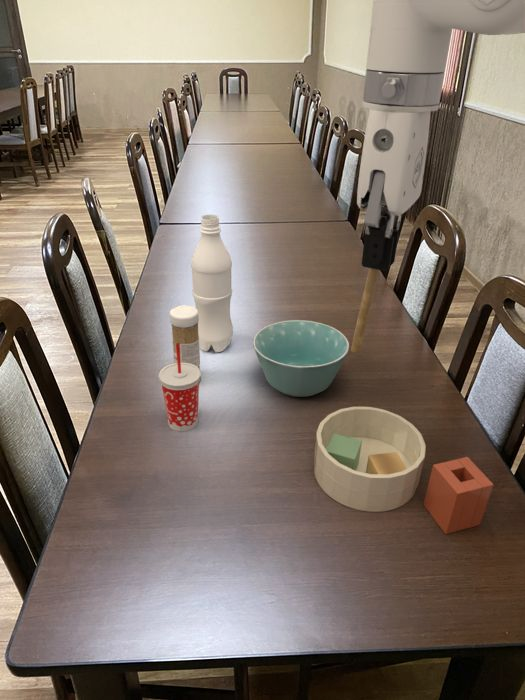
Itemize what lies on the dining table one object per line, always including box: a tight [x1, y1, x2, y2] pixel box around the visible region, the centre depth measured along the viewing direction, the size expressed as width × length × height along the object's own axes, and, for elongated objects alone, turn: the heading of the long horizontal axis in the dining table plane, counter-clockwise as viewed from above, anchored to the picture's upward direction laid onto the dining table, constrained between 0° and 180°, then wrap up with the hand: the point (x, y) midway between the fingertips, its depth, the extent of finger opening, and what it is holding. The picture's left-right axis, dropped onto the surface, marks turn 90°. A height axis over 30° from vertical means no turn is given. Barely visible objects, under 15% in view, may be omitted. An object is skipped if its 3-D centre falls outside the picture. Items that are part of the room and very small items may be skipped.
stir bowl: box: [313, 406, 427, 513], centre depth 73 cm, size 14×14×6 cm
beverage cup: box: [158, 343, 202, 432], centre depth 79 cm, size 6×6×14 cm
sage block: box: [326, 433, 362, 471], centre depth 73 cm, size 4×4×4 cm
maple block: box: [366, 452, 407, 475], centre depth 70 cm, size 4×4×4 cm
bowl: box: [252, 319, 350, 398], centre depth 91 cm, size 16×16×8 cm
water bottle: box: [190, 214, 234, 353], centre depth 96 cm, size 7×7×25 cm
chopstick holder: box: [423, 456, 494, 535], centre depth 66 cm, size 5×5×7 cm
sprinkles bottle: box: [169, 304, 201, 383], centre depth 89 cm, size 5×5×13 cm
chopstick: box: [350, 216, 387, 354], centre depth 65 cm, size 1×1×18 cm
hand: (377, 264), depth 63 cm, fingers closed on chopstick, 1 cm apart
